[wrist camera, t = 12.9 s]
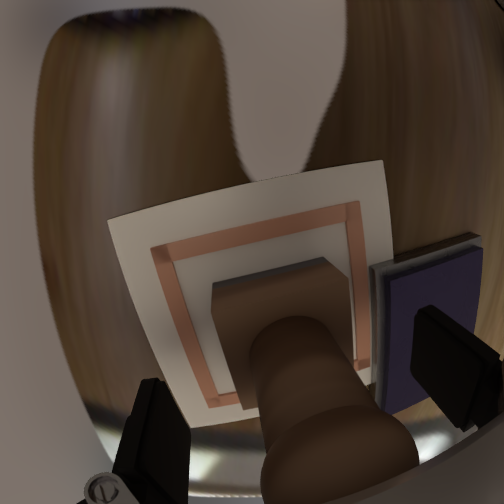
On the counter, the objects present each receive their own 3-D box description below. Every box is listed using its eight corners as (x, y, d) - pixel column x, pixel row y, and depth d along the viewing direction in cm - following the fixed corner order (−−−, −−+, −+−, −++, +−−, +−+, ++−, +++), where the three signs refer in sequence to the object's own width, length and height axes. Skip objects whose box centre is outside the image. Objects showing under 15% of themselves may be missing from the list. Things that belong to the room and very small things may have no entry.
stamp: (212, 282, 13) (206, 534, 3) (323, 256, 14) (502, 424, 3) (238, 371, 15) (266, 575, 4) (333, 347, 15) (436, 518, 4)
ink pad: (366, 263, 14) (380, 274, 13) (470, 232, 15) (487, 238, 13) (368, 410, 17) (376, 425, 16) (455, 369, 18) (466, 379, 16)
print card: (109, 219, 12) (105, 221, 12) (379, 160, 13) (384, 159, 12) (191, 424, 16) (190, 430, 15) (389, 372, 16) (393, 377, 16)
